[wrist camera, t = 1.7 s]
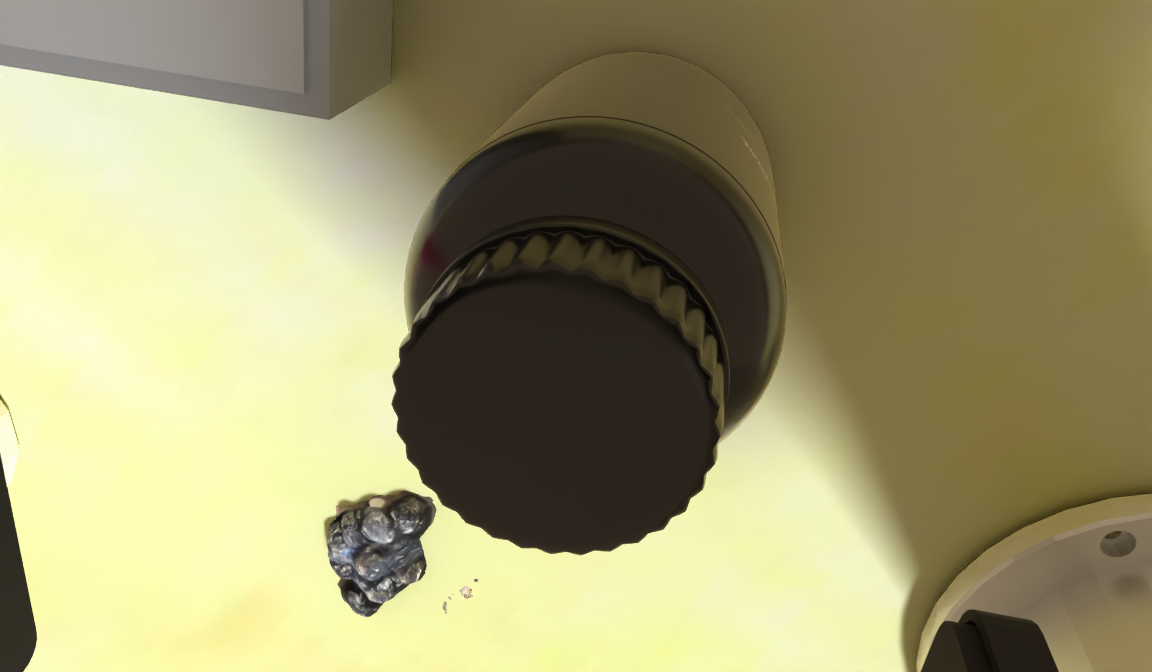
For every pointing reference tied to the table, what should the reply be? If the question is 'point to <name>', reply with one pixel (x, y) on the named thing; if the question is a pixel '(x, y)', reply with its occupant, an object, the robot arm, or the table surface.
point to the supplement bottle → (593, 306)
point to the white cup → (8, 444)
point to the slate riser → (211, 48)
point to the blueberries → (380, 548)
